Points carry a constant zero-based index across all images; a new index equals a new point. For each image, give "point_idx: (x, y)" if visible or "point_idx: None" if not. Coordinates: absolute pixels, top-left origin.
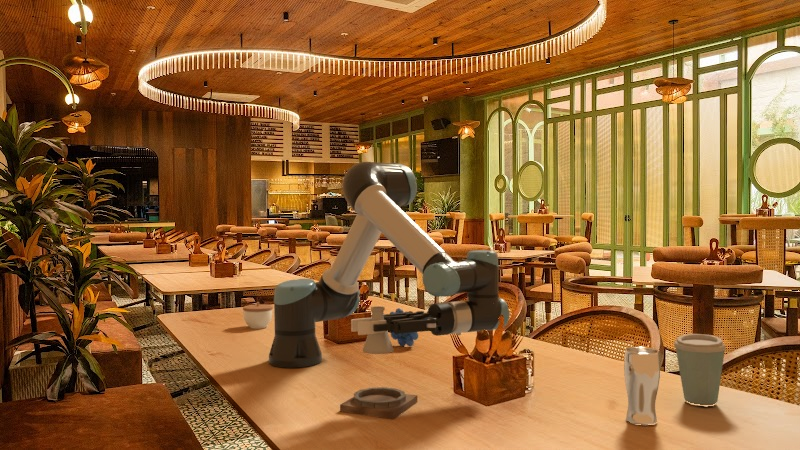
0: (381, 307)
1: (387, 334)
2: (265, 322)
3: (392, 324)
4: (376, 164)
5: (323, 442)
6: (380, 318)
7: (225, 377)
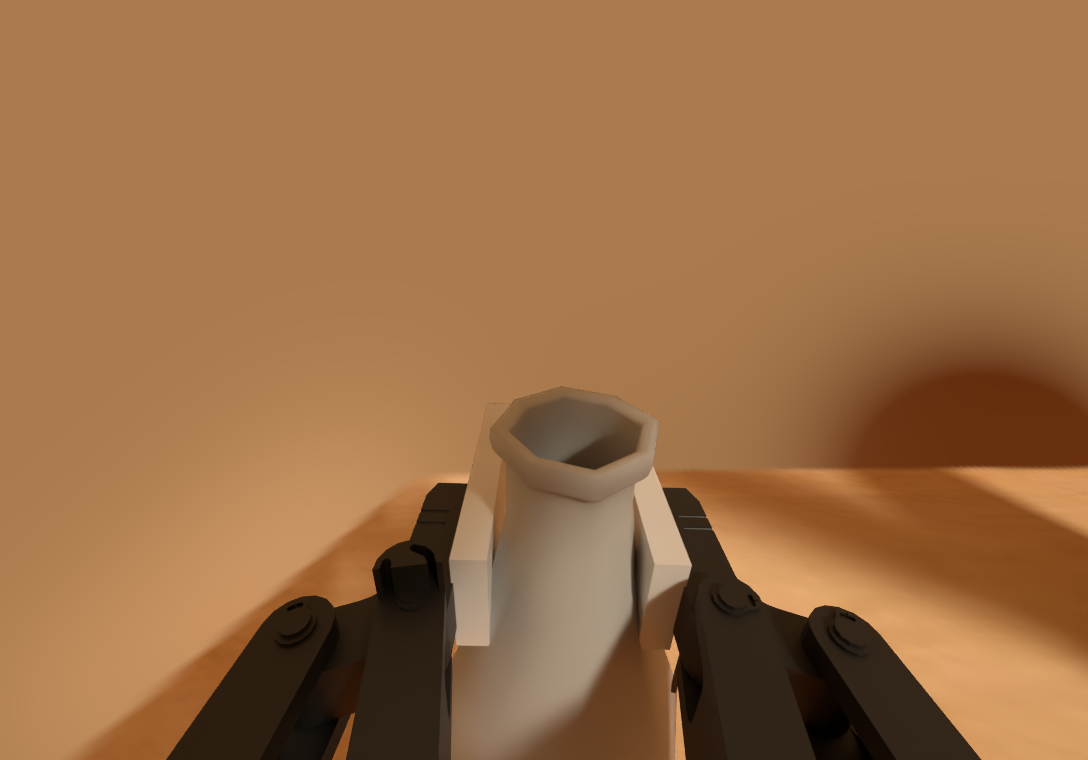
0: (609, 467)
1: (492, 692)
2: None
3: (344, 608)
4: None
5: (347, 538)
6: (505, 513)
7: (935, 483)
